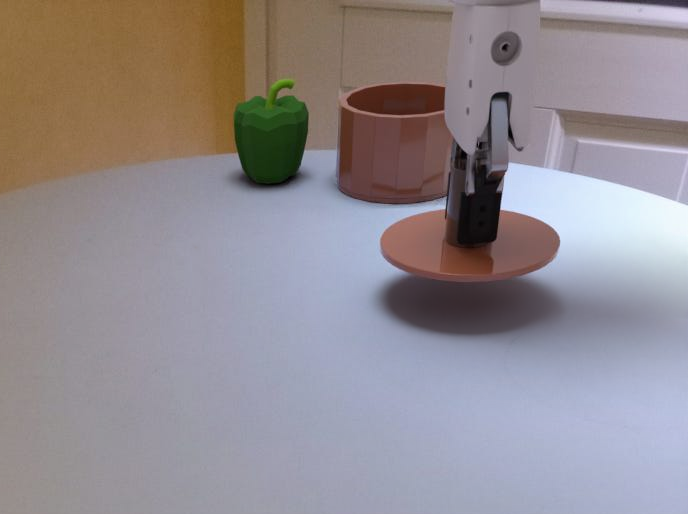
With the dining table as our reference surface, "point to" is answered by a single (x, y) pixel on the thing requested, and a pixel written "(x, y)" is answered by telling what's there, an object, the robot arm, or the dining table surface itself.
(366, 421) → the dining table surface
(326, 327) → the dining table surface
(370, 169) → the brown pot
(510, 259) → the lid
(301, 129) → the bell pepper
